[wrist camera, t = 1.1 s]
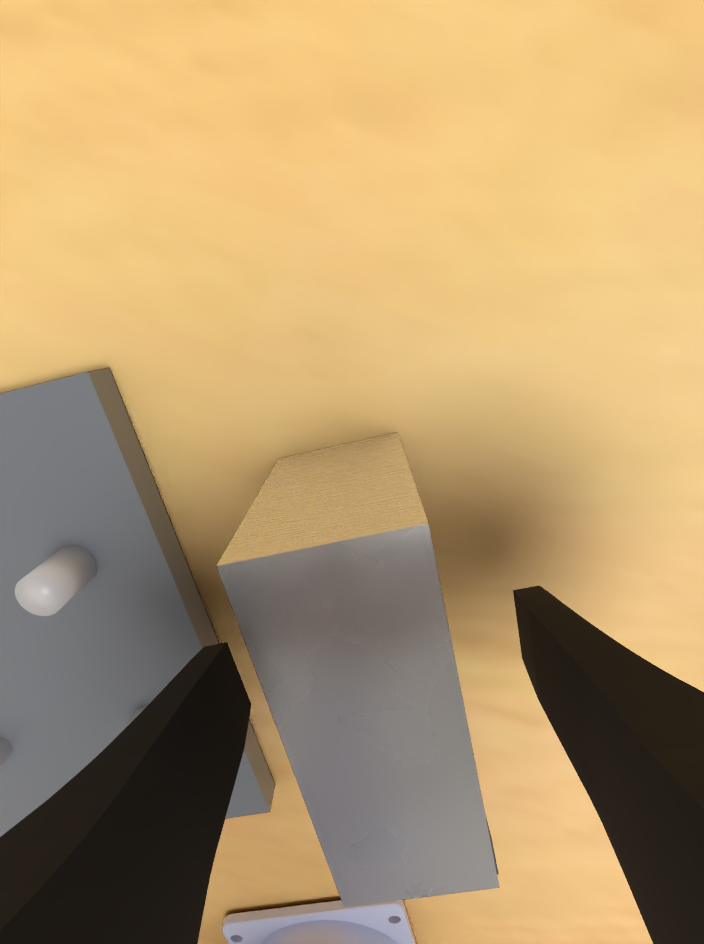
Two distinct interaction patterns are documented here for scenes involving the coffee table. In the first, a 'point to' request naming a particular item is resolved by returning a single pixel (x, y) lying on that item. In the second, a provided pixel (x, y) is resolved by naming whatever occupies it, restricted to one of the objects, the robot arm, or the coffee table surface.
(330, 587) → the block
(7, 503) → the pin tray
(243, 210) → the coffee table surface
